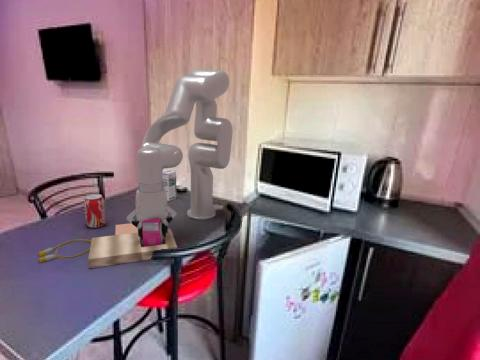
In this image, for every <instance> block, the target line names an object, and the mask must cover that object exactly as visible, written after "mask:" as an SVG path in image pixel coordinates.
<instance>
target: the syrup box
mask: <svg viewBox="0 0 480 360" xmlns="http://www.w3.org/2000/svg"><path fill="white" fill-rule="evenodd" d="M163 181H164V182H167V183H168V186H164V187H163V188H165V191H166V197H167V202H168V201H169V202H171V201H173V199H174V200H176V199H175V198H178V196H177V195H178V194H177V193H178V192H177V191H178V190H177V171H176V170H173V169H170V168H166V170H164V169H163ZM170 200H171V201H170Z"/></svg>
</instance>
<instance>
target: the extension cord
mask: <svg viewBox="0 0 480 360" xmlns="http://www.w3.org/2000/svg"><path fill="white" fill-rule="evenodd" d="M77 241H84V242H86V243H90V244H91V241H92V240H89V239H84V238H83V239H82V238H79V239H78V238H77V239H71V240H69V241H64V242H62V243H61V244H58V245H56V246H54V247H48V248H46V249H44V250H42V251H38V253H37V255H38V256H39V257H38V260H39V264H42V263H44V262H49V261H52V260H54V259H56V258H58V259H62V258H67V259H69V258H76V257H78V256H82V255H84V254H87V253H88V252H90V247H89V248H88V249H86V250H85V251H83V252H81V253H78V254H76V255H71V256H67V255H66V256H65V255H58V254H57V252H58V249H59V248H61V247H62V246H64V245H65V244H68V243H69V244H70V243H73V242H77ZM54 249H55V252H54V253H52V254H50V253H51V252H53V251H54Z"/></svg>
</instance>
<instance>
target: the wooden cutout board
mask: <svg viewBox="0 0 480 360" xmlns="http://www.w3.org/2000/svg"><path fill="white" fill-rule="evenodd" d="M90 241H91V243H90V247H89V248H90V251H88V252H89V253H88V259H87V261H88V269H94V268H101V267H107V266H113V265H120V264H127V263H134V262H140V261H147V260H152V259H151V257H152V252H153V251H155V250H161V249H175V248H177V249H178V245H177V243H176V240H175V238H174V235H173V232H172V229H171V228H168V233H166V237H164V236H163V242H164V243H163V245H155V246H148V247H144V246H142V245H143V240H141V237H138V233H130V234H122V235H115V234H114V235H108V236H107V235H105V236H97V237H91V240H90Z"/></svg>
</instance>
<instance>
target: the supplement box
mask: <svg viewBox="0 0 480 360" xmlns="http://www.w3.org/2000/svg"><path fill="white" fill-rule="evenodd" d="M162 223H163V221H162V219H161V220H160V219H152V220H144V221H142V232H143V244H142V245H143V247H148V246H155V245H163V244H164V241H163V228H162Z"/></svg>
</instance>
